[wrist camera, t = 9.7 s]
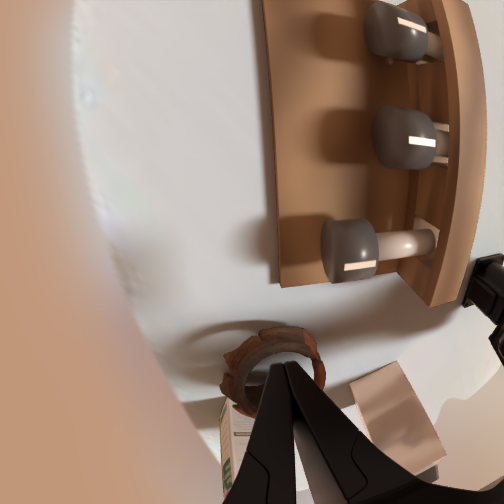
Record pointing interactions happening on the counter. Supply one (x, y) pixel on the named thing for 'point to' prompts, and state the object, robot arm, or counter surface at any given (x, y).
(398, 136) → the knob middle
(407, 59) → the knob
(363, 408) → the soap dispenser
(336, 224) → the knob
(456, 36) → the panel
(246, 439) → the syrup box
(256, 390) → the pottery mug
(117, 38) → the counter surface
